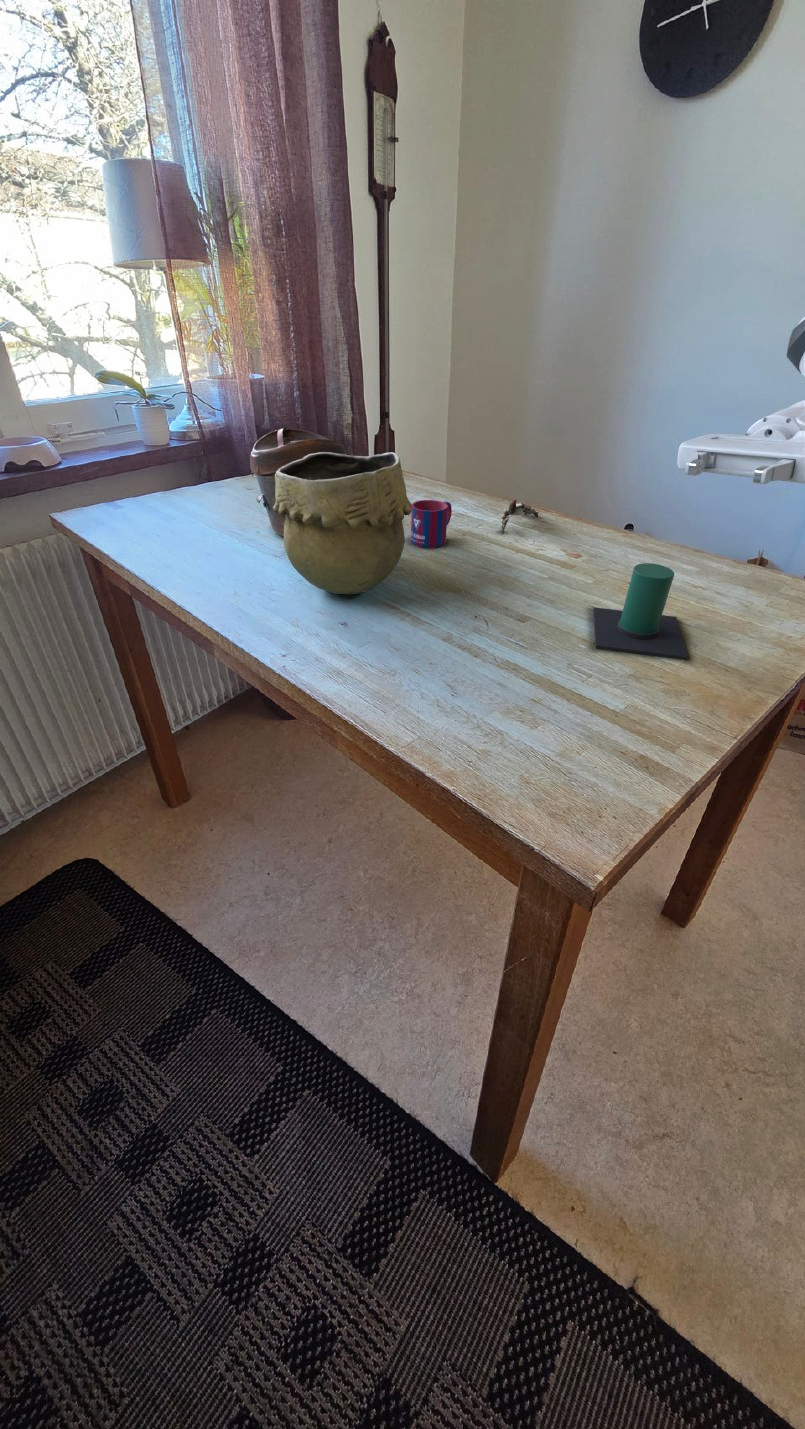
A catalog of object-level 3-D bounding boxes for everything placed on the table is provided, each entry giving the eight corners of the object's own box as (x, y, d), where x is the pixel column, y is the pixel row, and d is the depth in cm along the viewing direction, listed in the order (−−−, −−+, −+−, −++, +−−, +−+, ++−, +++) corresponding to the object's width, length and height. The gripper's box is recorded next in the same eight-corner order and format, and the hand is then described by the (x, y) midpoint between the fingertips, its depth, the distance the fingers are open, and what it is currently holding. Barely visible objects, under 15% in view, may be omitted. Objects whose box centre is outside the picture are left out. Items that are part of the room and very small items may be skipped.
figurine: (518, 531, 129) (497, 534, 116) (509, 515, 129) (487, 516, 116) (542, 515, 126) (523, 516, 113) (533, 499, 126) (513, 497, 113)
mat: (675, 619, 90) (676, 616, 90) (687, 660, 81) (688, 656, 80) (592, 610, 92) (593, 607, 92) (595, 648, 83) (596, 645, 82)
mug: (403, 541, 114) (403, 504, 110) (439, 529, 120) (441, 494, 116) (428, 550, 110) (430, 513, 106) (464, 538, 116) (467, 502, 112)
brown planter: (289, 507, 129) (280, 415, 118) (370, 524, 121) (368, 427, 111) (233, 532, 116) (218, 432, 105) (320, 552, 109) (313, 446, 98)
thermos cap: (655, 623, 88) (673, 564, 83) (659, 641, 83) (678, 581, 78) (615, 618, 89) (630, 560, 83) (618, 636, 84) (634, 576, 79)
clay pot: (251, 599, 93) (232, 463, 81) (325, 553, 108) (317, 433, 97) (370, 629, 86) (368, 485, 74) (430, 576, 101) (437, 450, 89)
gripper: (710, 418, 91) (655, 442, 85) (864, 426, 77) (810, 454, 71) (704, 462, 95) (651, 487, 89) (850, 477, 80) (798, 508, 75)
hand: (723, 473), depth 80 cm, fingers open, 8 cm apart
